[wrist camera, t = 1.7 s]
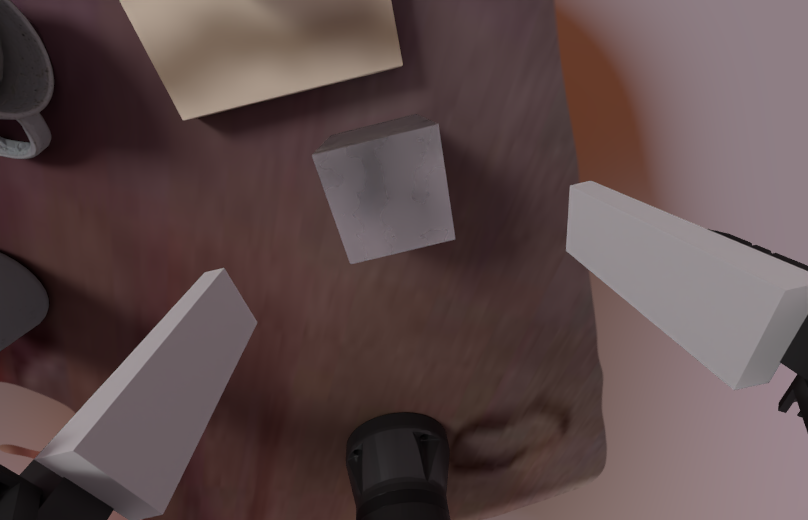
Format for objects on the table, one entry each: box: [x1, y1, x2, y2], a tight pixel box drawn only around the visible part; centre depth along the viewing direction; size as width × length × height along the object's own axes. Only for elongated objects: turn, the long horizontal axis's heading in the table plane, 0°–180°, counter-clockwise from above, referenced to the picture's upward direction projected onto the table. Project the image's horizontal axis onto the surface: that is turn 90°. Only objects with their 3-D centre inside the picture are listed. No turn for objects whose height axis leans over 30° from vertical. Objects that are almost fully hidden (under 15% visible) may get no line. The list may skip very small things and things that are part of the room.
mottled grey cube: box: [312, 114, 455, 264], centre depth 22 cm, size 7×7×9 cm
